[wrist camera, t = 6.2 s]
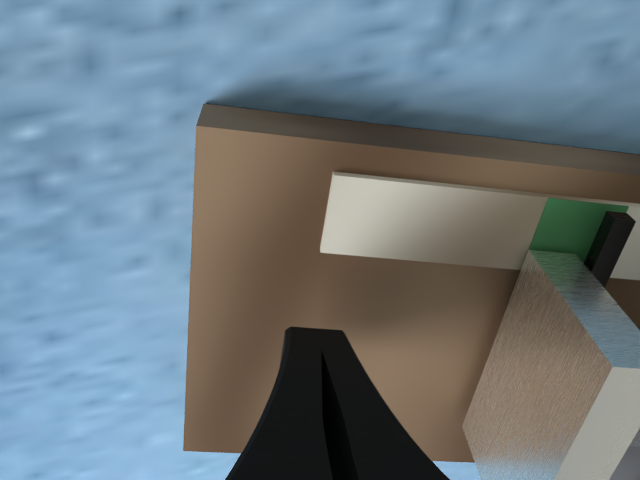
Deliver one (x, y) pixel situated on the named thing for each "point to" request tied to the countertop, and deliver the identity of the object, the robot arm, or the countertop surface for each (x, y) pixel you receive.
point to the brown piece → (378, 259)
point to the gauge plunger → (560, 371)
